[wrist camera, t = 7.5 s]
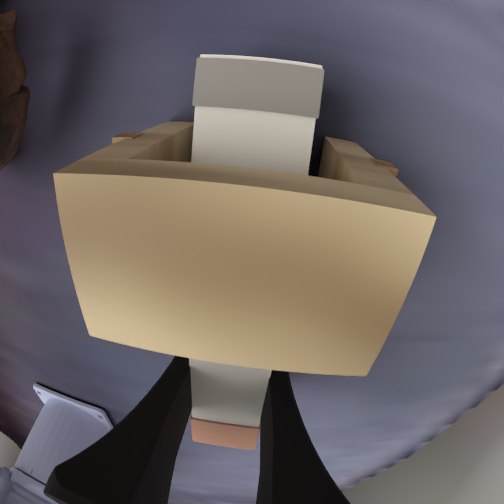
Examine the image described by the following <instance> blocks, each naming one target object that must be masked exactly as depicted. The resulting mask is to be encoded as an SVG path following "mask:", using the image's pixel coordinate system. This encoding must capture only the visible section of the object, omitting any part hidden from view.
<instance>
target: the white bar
mask: <svg viewBox="0 0 504 504" xmlns="http://www.w3.org/2000/svg"><path fill="white" fill-rule="evenodd" d="M324 70H325V69H322V65H316V64H310V63H303V62H296V61H289V60H281V59H272V58H262V57H250V56H234V55H203V54H201V55H200V58H197V62H196V71H195V81H194V91H193V102H192V106H195V115H194V128H193V142H192V157H191V163H204V164H215V165H226V166H236V167H245V168H254V169H263V170H271V171H279V172H286V173H294V174H301V175H307V176H308V171H309V164H310V157H311V150H312V143H313V136H314V128H315V121H316V118H317V119H319V111H320V103H321V95H322V87H323V79H324ZM189 366H190V372H191V393H192V416H191V430H192V441H195V442H201V443H206V444H212V445H218V446H225V447H232V448H240V449H248V450H255V446H256V442H257V439H258V435H259V431H260V417H261V413H262V408H263V404H264V399H265V395H266V390H267V386H268V381H269V378H270V376H271V372H272V370H268V369H259V368H251V367H243V366H236V365H229V364H222V363H215V362H209V361H203V360H197V359H191V358H189Z"/></svg>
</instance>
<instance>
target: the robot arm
mask: <svg viewBox="0 0 504 504" xmlns="http://www.w3.org/2000/svg"><path fill="white" fill-rule="evenodd" d="M33 388H34V390H35V391H36V393H37V394H38V396H39V397H40V398H41V400H42V401H43V403H44V404H45V405H44V406H43V408H42V410H41V412H40V414H39V416H38V418H37V420H36V422H35V424H34V426H33V428H32V430H31V432H30V434H29V436H28V438H27V440H26V442H25V444H24V446H23V448H22V450H21V452H20V455H19V457H18V459H17V461H16V463H15V465H14V468H10V470H9V469H8V468H7V467H3V468H0V504H167V503H168V497H169V491H170V486H171V480H172V475H173V470H174V465H175V460H176V456H177V453H178V449H179V446H180V443H181V440H182V437H183V434H184V431H185V428H186V425H187V422H188V419H189V416H190V413H191V410H192V393H191V372H190V366H189V358H186V357H180V356H175V357H174V359H173V360H172V362H171V363H170V365H169V366H168V367H167V369H166V370H165V372H164V373H163V374H162V376H161V377H160V378H159V380H158V381H157V382H156V383H155V385H154V386H153V387H152V389H151V390H150V391H149V392H148V393H147V395H146V396H145V397H144V398H143V399H142V400H141V401H140V402H139V403H138V405H137V406H136V407H135V408H134V409H133V410H132V411H131V412H130V413H129V414H128V415H127V416H126V417H125V418H124V419H123V420H122V421H121V422H119V423H118V424H117V425H116V426H115V427H114V428H113V426H112V424H111V422H110V420H109V419H108V417H107V415H106V413H105V412H104V411H103V410H102V409H100V408H97V407H94V406H91V405H89V404H86V403H83V402H80V401H77V400H75V399H72V398H70V397H67V396H64V395H62V394H59V393H57V392H54V391H52V390H50V389H47V388H45V387H43V386H40V385H38V384H34V385H33ZM256 504H350V503H349V501H348V500H347V499H346V497H345V496H344V495H343V493H342V492H341V491H340V489H339V488H338V486H337V485H336V483H335V482H334V480H333V479H332V477H331V476H330V474H329V473H328V471H327V470H326V468H325V466H324V465H323V463H322V461H321V459H320V458H319V456H318V454H317V452H316V450H315V448H314V446H313V444H312V442H311V440H310V437H309V435H308V433H307V430H306V428H305V426H304V423H303V421H302V418H301V415H300V412H299V409H298V407H297V404H296V400H295V397H294V394H293V390H292V386H291V382H290V377H289V372H287V371H277V370H272V372H271V376H270V378H269V381H268V386H267V390H266V395H265V399H264V404H263V408H262V413H261V417H260V475H259V484H258V492H257V500H256Z"/></svg>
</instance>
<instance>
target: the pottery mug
mask: <svg viewBox="0 0 504 504" xmlns="http://www.w3.org/2000/svg"><path fill="white" fill-rule="evenodd" d="M16 13H17V10H16V9H14V10H11V11H9V12H7V13H3V14H0V170H1V169H2V168H3V167H5V166H6V165H7V163H8V162H9V161H11V160H12V159H13V158H14V157H15V156H16V154H17V151H18V148H19V146H20V143H21V139H22V136H23V131H24V128H25V123H26V119H27V109H28V103H29V98H30V93H29V89H28V88H27V87H25V86H23V85H22V83H23V81H24V80H25V78H26V70H25V66H24V62H23V60H22V58H21V56H20V55H19V52H18V48H17V46H16V43H15V37H14V26H15V23H16V17H17V16H16Z"/></svg>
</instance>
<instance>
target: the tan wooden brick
mask: <svg viewBox="0 0 504 504" xmlns="http://www.w3.org/2000/svg"><path fill="white" fill-rule="evenodd" d="M193 128H194V122H178V121H168V122H165V123H163V124H160V125H157V126H155V127H152V128H150V129H147V130H145V131H142V132H140V133H122V134H119V135H117V136H114V137H112V144H111V145H109V146H107V147H105V148H103V149H101V150H98V151H96V152H94V153H92V154H90V155H88V156H86V157H84V158H82V159H80V160H78V161H76V162H74V163H72V164H70V165H68V166H66V167H64V168H62V169H60V170H58V171H57V172H55V173H53V175H54V183H55V191H56V198H57V204H58V211H59V217H60V222H61V228H62V233H63V238H64V243H65V248H66V252H67V257H68V261H69V265H70V269H71V273H72V277H73V281H74V285H75V289H76V292H77V296H78V299H79V303H80V306H81V310H82V313H83V316H84V319H85V322H86V326H87V329H88V332H89V335H90V336H93V337H97V338H100V339H104V340H108V341H112V342H116V343H120V344H124V345H128V346H133V347H137V348H141V349H146V350H151V351H155V352H160V353H165V354H170V355H175V356H180V357H186V358H191V359H197V360H203V361H209V362H215V363H222V364H229V365H236V366H243V367H251V368H259V369H268V370H277V371H287V372H298V373H311V374H326V375H345V376H367V374H368V372H369V370H370V369H371V367H372V365H373V363H374V361H375V360H376V358H377V356H378V354H379V352H380V350H381V348H382V346H383V344H384V342H385V340H386V338H387V336H388V334H389V332H390V330H391V328H392V326H393V324H394V322H395V320H396V318H397V316H398V314H399V312H400V309H401V307H402V305H403V303H404V301H405V298H406V296H407V294H408V291H409V289H410V287H411V284H412V282H413V280H414V277H415V275H416V272H417V270H418V267H419V265H420V262H421V260H422V257H423V255H424V252H425V249H426V246H427V244H428V241H429V238H430V235H431V233H432V230H433V227H434V224H435V221H436V218H437V217H436V216H435V215H434V214H433V213H432V212H431V211H430V210H429V209H428V208H427V207H426V206H425V205H424V204H423V203H422V202H421V201H420V200H419V199H418V198H417V197H416V196H415V195H414V194H413V193H412V192H411V191H410V190H409V189H408V188H407V187H406V186H405V185H404V184H403V183H402V182H401V181H399V180H398V179H397V174H398V170H399V169H398V168H397V167H396V166H394V165H393V164H392V163H391V162H387V161H383V160H378V159H375V158H374V157H372V156H371V155H370V154H369V153H368V152H366V151H365V150H364V149H363V148H362V147H360V146H359V145H358V144H357V143H356V142H352V141H347V140H342V139H337V138H331V137H324V143H323V149H322V155H321V161H320V167H319V173H318V177H314V176H307V175H301V174H294V173H286V172H279V171H271V170H263V169H254V168H245V167H236V166H226V165H215V164H204V163H191V157H192V142H193Z"/></svg>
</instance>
